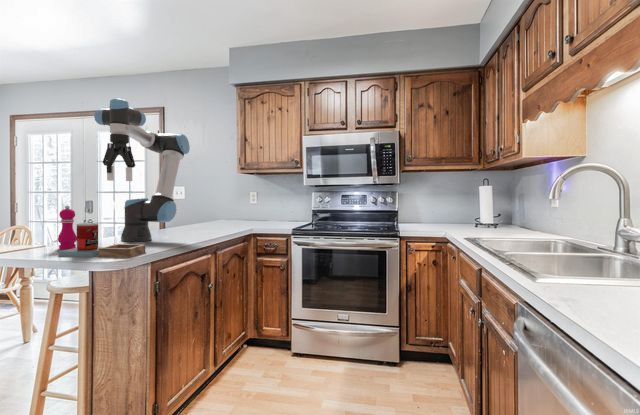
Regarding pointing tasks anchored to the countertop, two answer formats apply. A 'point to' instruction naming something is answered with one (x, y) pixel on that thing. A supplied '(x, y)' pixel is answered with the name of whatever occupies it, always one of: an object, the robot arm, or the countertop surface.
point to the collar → (121, 250)
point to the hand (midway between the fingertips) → (120, 180)
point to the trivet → (79, 253)
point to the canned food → (87, 236)
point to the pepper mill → (67, 229)
